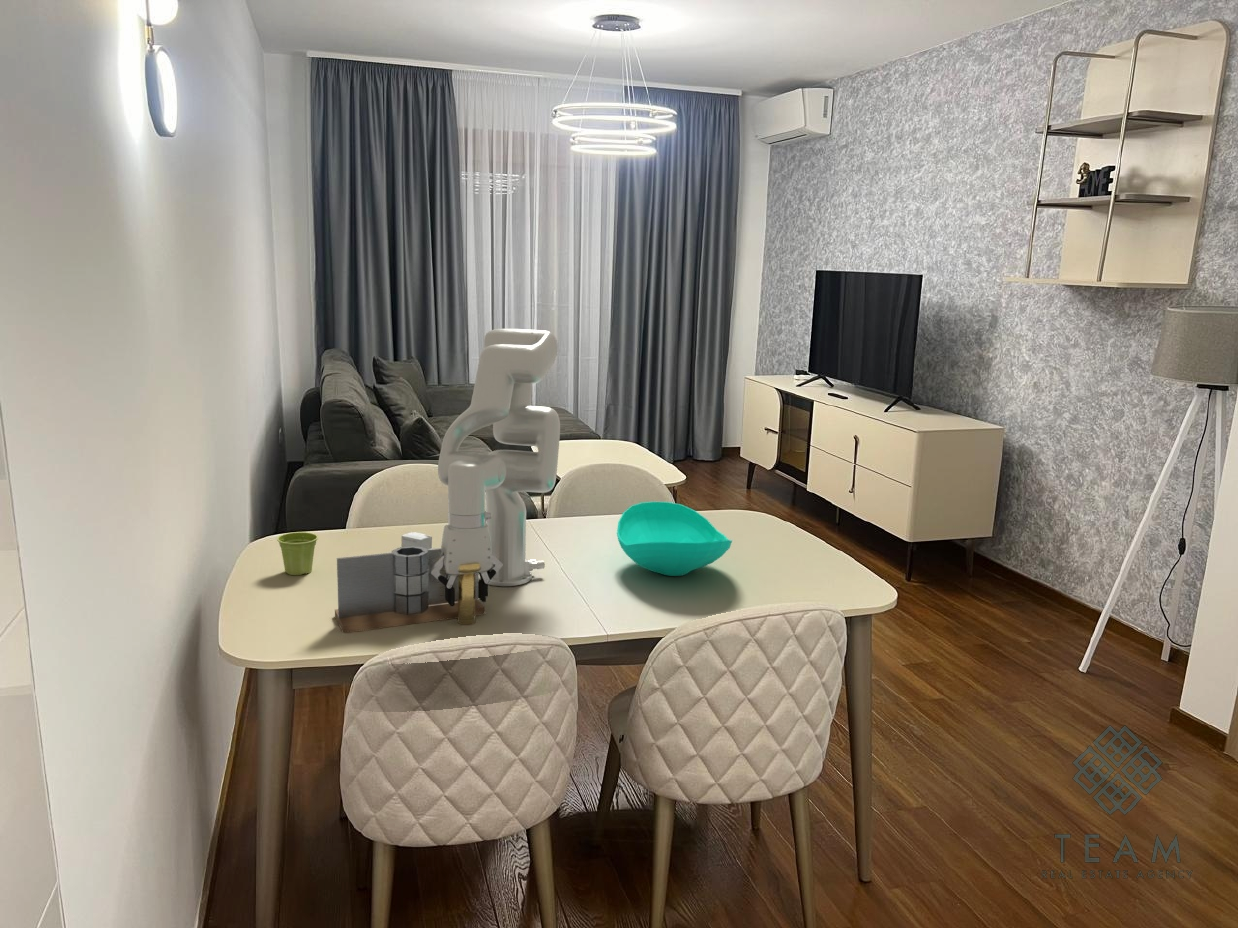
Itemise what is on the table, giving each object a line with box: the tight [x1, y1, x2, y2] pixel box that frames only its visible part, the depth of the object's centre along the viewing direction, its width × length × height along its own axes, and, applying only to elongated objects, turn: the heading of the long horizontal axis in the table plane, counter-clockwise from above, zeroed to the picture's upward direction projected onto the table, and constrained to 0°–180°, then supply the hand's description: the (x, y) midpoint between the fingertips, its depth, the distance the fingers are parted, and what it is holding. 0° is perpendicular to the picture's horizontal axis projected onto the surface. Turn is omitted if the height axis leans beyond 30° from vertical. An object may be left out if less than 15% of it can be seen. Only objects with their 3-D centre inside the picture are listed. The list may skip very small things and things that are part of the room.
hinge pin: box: [457, 563, 481, 626], centre depth 199 cm, size 6×6×14 cm
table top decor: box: [616, 501, 733, 577], centre depth 237 cm, size 40×28×13 cm
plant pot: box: [276, 531, 319, 576], centre depth 227 cm, size 9×9×9 cm
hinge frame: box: [336, 546, 429, 618], centre depth 199 cm, size 19×7×13 cm, turn 116°
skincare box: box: [401, 531, 433, 551], centre depth 221 cm, size 6×4×12 cm
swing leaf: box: [394, 547, 480, 605], centre depth 203 cm, size 19×7×12 cm, turn 116°
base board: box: [334, 599, 486, 634], centre depth 202 cm, size 30×10×2 cm, turn 116°
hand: (466, 601), depth 199 cm, fingers open, 6 cm apart
